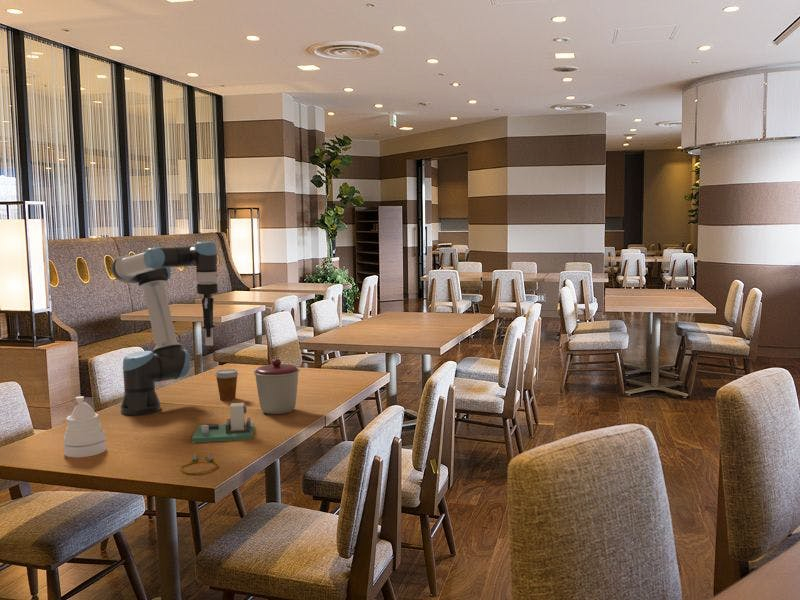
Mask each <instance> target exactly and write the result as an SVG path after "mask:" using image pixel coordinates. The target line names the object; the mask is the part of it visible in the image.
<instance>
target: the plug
mask: <svg viewBox="0 0 800 600" xmlns="http://www.w3.org/2000/svg"><path fill="white" fill-rule="evenodd" d="M229 408H230V409H229V411H230V412H229V413H230V419H231V431H235V430H245V423H246V418H245V416H246V415H245V414H247V404H245V402H234V403H233V402H232V403H230V406H229Z"/></svg>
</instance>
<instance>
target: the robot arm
mask: <svg viewBox="0 0 800 600" xmlns="http://www.w3.org/2000/svg"><path fill="white" fill-rule="evenodd" d="M194 245H195V246H194ZM194 245H186V246H173V247H170V246H169V247H152V248H151V247H150V248H146V249H145V252H141V253H138V254H127V255H122V256H121V255H120V256H118V257H117V258H115V259H114V261H113V262H112V263H111V267H110V268H111V273H112V275H113V277H114V278H115V279H116V280H118V281H119V282H121V283H127V284H137V283H138V288H139V289H140V290H141V291H143V293H144V298H145V301H146V307H147V313H148V316H149V321H150V325H151V330H152V335H153V341H154V343H155V346H154V348H153V349H152V351H151V350H142V351H136V352H133V353H129V354H127V355H125V356H124V358H123V360H122V372H123V387H124V391H123V393H124V394H123V398H122V400H121V401H122V402H121V405H120V413H121V414H122V415H127V416H139V415H148V414H153V413H156V412H158V411H160V410H161V408H162V407H161V402H160V398H159V397H158V395H157V391H156V383H159V382H165V381H171V380H178V379H182V378H184V377H186V376H187V375H188V374H189V372H190V369H191V363H192V362H191V356H190V353H189V351H188V349H184V348H183V346H182V344H181V343H180V342H178V339H177V337H176V331H175V328H174V322H173V318H172V314H171V310H170V309H171V308H170V304H169V299H168V296H167V291H166V287H167V284H168V283H169V282H168V280H170V278H171V270H172V269H171V268H181V267H182V268H183V267H195V268H196V270H195V271H196V272H195V274H196V275H195V276H196V283H197V284H196V293H197V294H198V295H203V297H202V299H201V306H202V307H201V308H202V316H203V327H202V329H204V339H205V340H204V344H205V346H206V347H207V346H214V332H213V331H214V329H213V328H215V325H214V303H215V302H214V301H215V298H214V297H213V296H212V295H216V294H218V293H219V292H218V291H219V290H218V287H219V286H218V283H217V282H218V277H220V275H219V273H218V259H217V258H218V257H217V256H218V252H217V245H216V242H214V241H197V242H196V243H195V244H194Z"/></svg>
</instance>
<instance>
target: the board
mask: <svg viewBox="0 0 800 600" xmlns="http://www.w3.org/2000/svg"><path fill="white" fill-rule="evenodd" d="M254 430H255V422H252V421H251V417H247V418H246V421H245V430H235V431H231V418H227V419H226V423H224V424H219V423H207V424H202V425H198V426H197V428H196V429H195V430H194V431H195V432H194V433H193V434H192V437H191V443H192V442H197V443H210V441H215V442H229V441H228V440H234V441H246V440H247V439H251V440H252V439H253V435H252V434H253V433H254ZM245 439H246V440H245Z"/></svg>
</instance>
